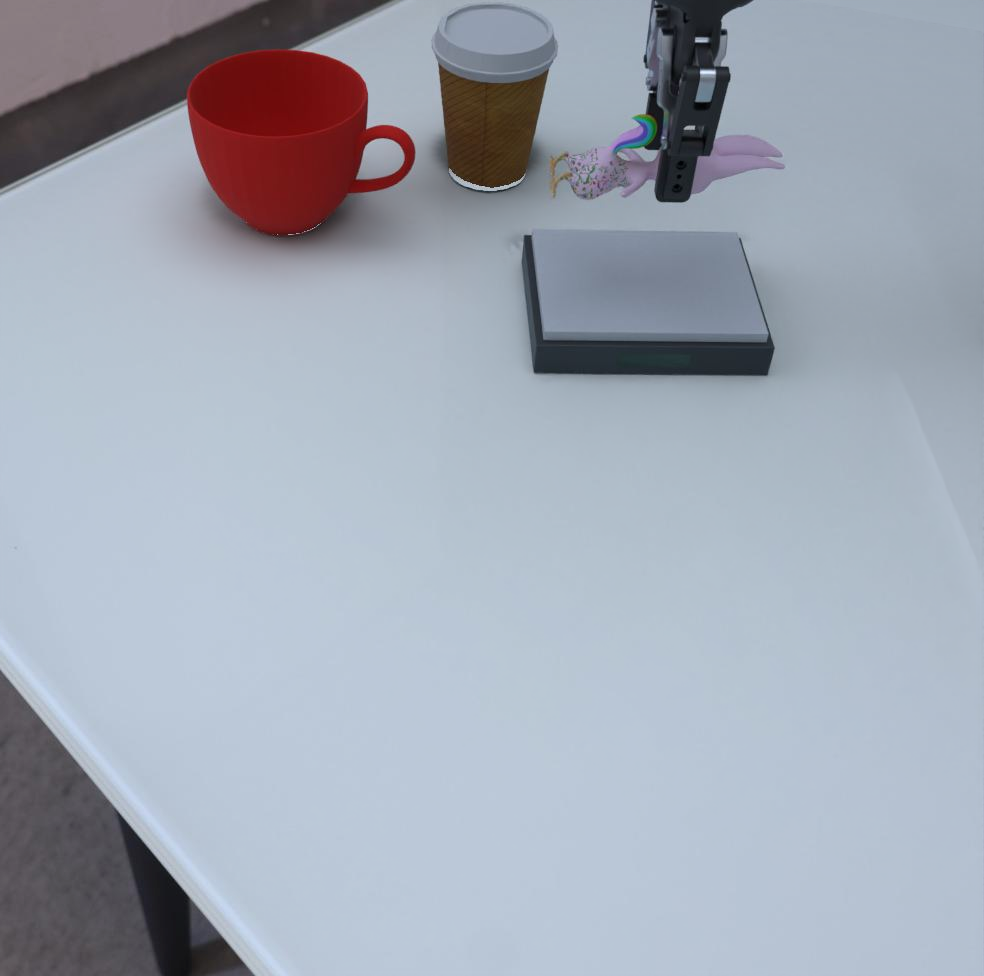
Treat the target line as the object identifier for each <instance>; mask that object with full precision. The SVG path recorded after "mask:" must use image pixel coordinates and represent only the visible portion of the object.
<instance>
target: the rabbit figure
mask: <svg viewBox="0 0 984 976" xmlns="http://www.w3.org/2000/svg"><path fill="white" fill-rule="evenodd" d="M631 120H634V121H636V122H637V123H638V124H639V125H638V126H637V127H634V128H633V129H629V130H627V131H625V132H623V133H622V134H620V135H619V136H618V137H617V138H616V139H615V140H614V141H613V142H611V144H610V145H608V146H594V147H591V148H590V149H589V150H587V151H586V152H583V153H580V154H574V153H571V152H569V151H567V150H566V151H563V152H562V153H561V154H559V156H557V157H555V158H554V157H553V155H552V153H548V156H549V157H550V159H549V160H548V166H549V171H550V172H549V176H550V180H549V186H550V193H551V194H552V195H551V200H554V199H555V198H556V196H557V190H556V189H557V187H558V185H559V183H560V182H562V181H563V180H565V181H567V182H568V183H569V184H570V187H571V189H572V192H573V194H574V195H575V196H576V197H577V198H579V199H581V200H585V201H590V200H594V199H596V198H599V197H600V196H603V195H605V194H607V193H609V192H611V191H612V190H614V189H616V188H623V189H621V190H620V191H619V196H620V197H621V198H624V199H625V198H628V197H630V196H631V195H633V194H634V193H636V192H637V191H639V189H641V188H642V187H643V186H644V185H645V184H646V182H647V181H649V180H650V181H651V180H653V181H655V182H656V176H657V170H658V164H659V159H660V153H661V147H662V146H661V147H660V149H659V150H657V154H656V156H655V158H654V159H653V160H651V161H646V160H645V159H644V158H643V157H642V156H641V155H639V153H637V152H636V150H634V149H641V148H644V146H646V145H648V144H649V143H650V142H651V141H652V140H653V139H654V137H655V135H656V132H657V123H656V121H655V119H654V118H653V117H652V116H650V115H646V113H645V114H643V113H640V114H637V115H634V116H632V117H631ZM618 153H621V154H624V155H625V156H626V157H627V158H628V160H627V159H624V158H622V157H621V156H619V155H618ZM782 157H783V153H782V152H781V151H780V150H779V149H778V148H776V147H775V146H774V145H772V144H771V143H769V142H767V141H766V140H764V139H761V138H759V137H757V136H754V135H749V134H730V135H723V136H720V137H717V138H715V139H714V143H713V150H712V151H711V155H710V156H698V159H697V165H696V170H695V175H694V180H693V186H692V191H691V195H695V194H700V193H702V192H704V191H705V190H706V189H707V188H709V186H710V185H711V184H712V183H713V182H715V181H718V180H722V179H726V178H729V177H733V176H737V175H739V174H743V173H746V172H749V171H754V170H762V169H773V170H785V169H786V164H784V163H781V162H778V161H776V160H774V159H771V158H782ZM561 161H564V162H565V163H566V164H567V165H568V167H569V171H565V172H564V173H563V174H561V175H560V176H558V177H556V178H555V175H556V174H555V173H556V171H555V169H556V167H557V164H559V162H561Z"/></svg>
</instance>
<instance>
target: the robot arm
mask: <svg viewBox="0 0 984 976" xmlns="http://www.w3.org/2000/svg"><path fill="white" fill-rule="evenodd" d="M753 1H754V0H651V3H650V11H649V20H648V29H647V36H646V37H647V38H646V45H645V53H644V54H643V63H644V68H645V70H646V69H647V70H648V71H647V76H646V77H645V86H646V90H647V91H648V96H647V103H646V109H645V114H646V115H650V116H652V117H653V118H654V119H655V121H656V123H657V132H656V135H655V137H654V139H653V140H652V141H651V142H650V143H649V144H648V145H646V146H644V147H643V148H644V149H645V150H647V151H659V149H660V147H661V146H662V147H661V153H660V159H659V164H658V170H657V176H656V181H655V184H654V189H653V190H654V191H653V192H654V195H655V200H656V201H657V202H659V203H678V204H680V203H681V204H682V203H687V202H688V201H689V200H690V198H691V191H692V186H693V180H694V175H695V170H696V165H697V159H698V156H710V155H711V151H712V150H713V143H714V139H716V135H717V133H718V127H719V123H720V120H721V116H722V111H723V108H724V104H725V99H726V96H727V93H728V87H729V84H730V83H731V77H732V74H731V72H730V71H731V70H730V66H727V65H724V66H723V65H722V62H723V61H724V59H725V58H726V56H727V50H728V37H729V36H728V35H729V34H728V28H722V27H723V26H722V25H723V22H722V20H723V17H724V16H726V15H727V14H728V13H730V12H731V11H734V10H736V9H738V8H743V7H745V6H747V5H749V4H751V3H752V2H753ZM686 127H694V129H685V128H686Z"/></svg>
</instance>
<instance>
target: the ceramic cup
mask: <svg viewBox="0 0 984 976" xmlns="http://www.w3.org/2000/svg"><path fill="white" fill-rule="evenodd" d="M186 105H187V114H188V120H189V125H190V126H189V127H190V130H191V135H192V140H193V143H194V147H195V151H196V155H197V157H198V158H197V159H198V161H199V163H200V166H201V168H202V170H203V173H204V175H205V177H206V179H207V182H208V184H209V185H210V187H211V189H212V190H213V192H214V193H215V194H216V196H217V197H218V198H219V200H220V201H221V202H222V203H223V204H224V205H225V206H226V207H227V208H228V209H229V210H230V211H231V212H232V213H233V214H234V215H235V216H237V218H239V219H241V220H242V221H244V222H245V223H246V222H247V223H246V225H247V226H249V225H250V226H251V227H252V228H251V227H250V226H249V227H250V228H251V229H253V228H254V229H253V230H255V229H257V230H256V231H257V232H259V231H261V232H260V233H262V232H264V233H263V234H265V233H266V234H265V235H269V234H274V235H273V236H275V235H277V234H278V235H288V234H296V233H302V232H304V231H307V230H310V229H312V228H314V227H316V226H317V225H318V224H320V223H322V222H323V221H324V220H325V219H326V220H327V218H329V217H330V216H331V215H332V214H333V213H334V212H335V211H336V210H337V209H338V208H339V207H340V206H341V204H342V203H343V202H344V201H345V199H346V198H347V197H348V194H350V195H351V194H362V193H372V192H377V191H383V190H386V189H389V188H391V187H394V186H396V185H398V184H399V183H401V182H402V181H403V180H404V179H405V178H406V177H407V176H408V174H409V173H410V172H411V170H412V168H413V166H414V163H415V160H416V146H415V143H414V141H413V139H412V137H411V136H410V135H409V134H408V132H406V131H405V130H404V129H402V128H401V127H399V126H395V125H392V124H391V125H390V124H378V125H374V126H371V127H368V126H367V125H368V112H369V91H368V87H367V83H366V81H365V80H364V79H363V77H362V76H361V74H360V73H359V72H358V71H357V70H356V69H354V68H353V67H352V66H350V65H348V64H347V63H344V62H343V61H341V60H339V59H336V58H334V57H331V56H329V55H325V54H319V53H317V52H313V51H305V50H299V49H282V48H281V49H279V48H278V49H277V48H276V49H261V50H253V51H248V52H243V53H238V54H235V55H231V56H228V57H225V58H223V59H219V60H218V61H216V62H214V63H211V64H210V65H208V66H206V67H205V68H204V69H202V70H201V71H200V72H199V73H197V74H196V75H195V76H194V78H193V80H191V82H190V83H189V86H188V89H187V91H186ZM367 127H368V128H367ZM380 139H385V140H391V141H393V142H395V143H396V144H398V146H399V147H400V148H401V150H402V153H403V162H402V165H401V166H400V168H398V170H396V171H395V172H393V173H392V174H389V175H386V176H382V177H381V176H380V177H376V178H367V179H364V178H363V179H362V178H359V179H358V178H357V177H358V174H359V172H360V168H361V165H362V162H363V157H364V156H363V155H364V151H365V148H366V146H367V145H368V144H370V143H371V142H373V141H376V140H380ZM326 220H325V221H326ZM325 221H324V222H325ZM324 222H323V223H324ZM323 223H322V224H323Z"/></svg>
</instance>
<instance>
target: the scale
mask: <svg viewBox="0 0 984 976" xmlns="http://www.w3.org/2000/svg"><path fill="white" fill-rule="evenodd" d="M521 251H522V253H521V271H522V279H523V287H524V296H525V297H524V298H525V306H526V313H527V314H526V315H527V323H528V325H527V326H528V335H529V341H530V343H529V344H530V353H531V362H532V371H533V373H534V374H579V375H580V374H583V375H585V374H586V375H588V374H589V375H592V374H593V375H601V374H602V375H683V376H684V375H688V376H691V375H692V376H693V375H695V376H697V375H699V376H700V375H703V376H768V375H769V373H770V372H769V371H770V368H771V365H772V360H773V356H774V354H775V353H774V352H775V349H776V347H775V344H774V341H773V337H772V335H771V331H770V328H769V324H768V321H767V318H766V316H765V312H764V308H763V305H762V302H761V299H760V295H759V293H758V290H757V289H758V288H757V287H756V283H755V280H754V276H753V274H752V270H751V267H750V264H749V261H748V260H749V259H748V257H747V255H746V251H745V247H744V245H743V242H742V239H741V237H739V234H738V232H737V231H692V230H691V231H688V230H687V231H686V230H683V231H681V230H617V229H616V230H614V229H613V230H611V229H609V230H608V229H606V230H605V229H541V228H539V229H538V228H537V229H535V228H534V229H533V228H532V230H531V234H524V235H523V241H522V250H521Z"/></svg>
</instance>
